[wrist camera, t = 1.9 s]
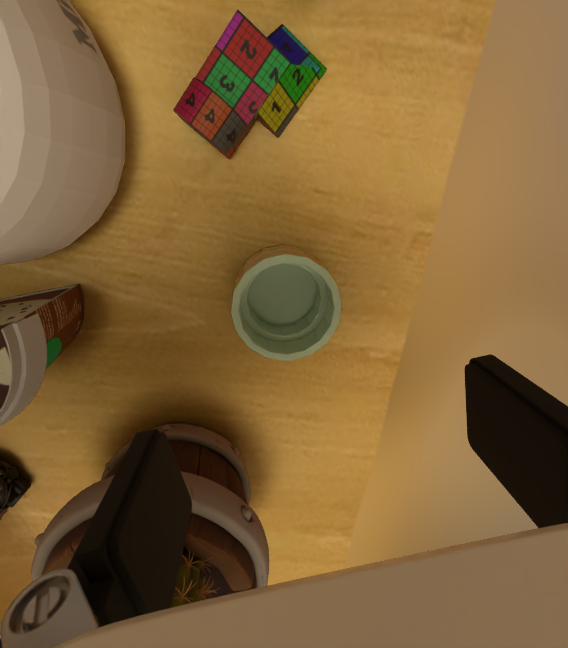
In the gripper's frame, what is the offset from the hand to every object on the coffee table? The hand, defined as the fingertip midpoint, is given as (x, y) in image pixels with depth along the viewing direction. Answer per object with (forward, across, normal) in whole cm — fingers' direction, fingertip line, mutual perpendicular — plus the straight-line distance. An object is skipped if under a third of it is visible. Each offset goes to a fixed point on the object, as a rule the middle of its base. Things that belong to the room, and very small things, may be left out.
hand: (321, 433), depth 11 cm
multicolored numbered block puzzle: (+18, -1, -13) cm, 22 cm away
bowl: (+18, 0, 0) cm, 18 cm away
